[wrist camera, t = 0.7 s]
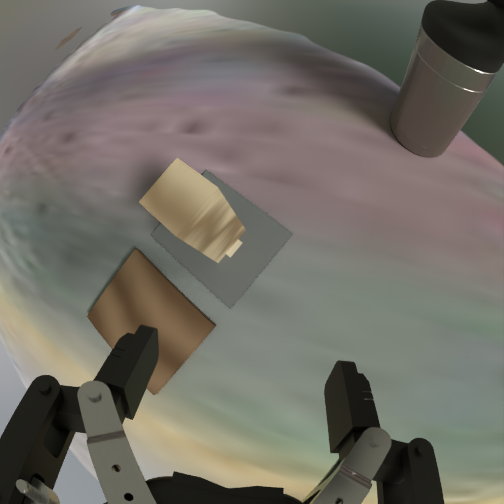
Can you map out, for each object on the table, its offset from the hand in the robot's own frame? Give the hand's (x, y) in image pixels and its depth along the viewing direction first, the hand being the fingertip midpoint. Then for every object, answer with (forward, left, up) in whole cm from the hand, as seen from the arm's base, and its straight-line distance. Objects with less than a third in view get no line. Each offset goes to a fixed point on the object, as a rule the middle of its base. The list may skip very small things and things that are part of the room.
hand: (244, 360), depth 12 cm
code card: (-4, -13, -20) cm, 24 cm away
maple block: (-4, -13, -19) cm, 24 cm away
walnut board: (+10, -13, -20) cm, 25 cm away
